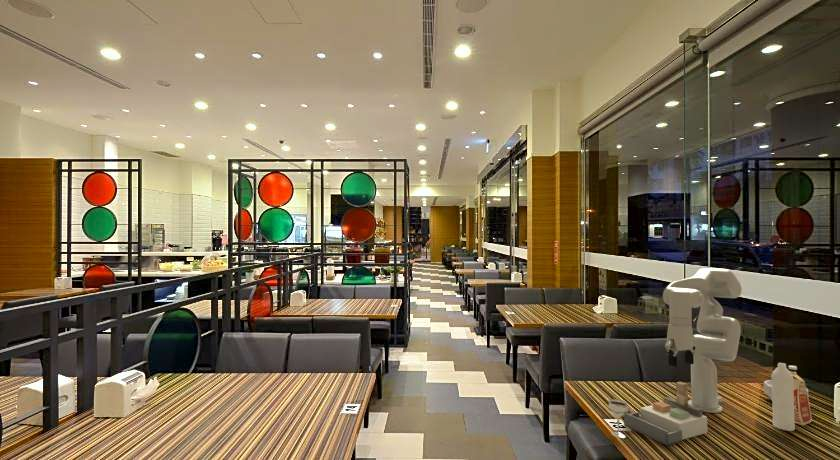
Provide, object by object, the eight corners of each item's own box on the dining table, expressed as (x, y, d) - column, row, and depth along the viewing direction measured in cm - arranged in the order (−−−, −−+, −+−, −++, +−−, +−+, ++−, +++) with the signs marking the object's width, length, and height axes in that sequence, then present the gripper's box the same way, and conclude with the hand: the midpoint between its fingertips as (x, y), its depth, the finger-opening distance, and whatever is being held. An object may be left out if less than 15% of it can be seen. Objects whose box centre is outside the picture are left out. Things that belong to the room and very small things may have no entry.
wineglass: (619, 440, 150) (619, 407, 151) (604, 432, 157) (604, 400, 157) (632, 436, 153) (632, 404, 154) (617, 429, 159) (617, 397, 160)
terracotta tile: (660, 406, 167) (660, 401, 167) (671, 410, 163) (671, 405, 163) (652, 408, 165) (652, 403, 165) (663, 412, 161) (663, 407, 161)
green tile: (677, 413, 160) (677, 407, 160) (688, 417, 156) (688, 412, 156) (669, 414, 159) (669, 409, 159) (680, 419, 154) (680, 414, 154)
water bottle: (768, 424, 164) (766, 361, 165) (783, 423, 165) (781, 360, 166) (790, 434, 156) (788, 367, 157) (805, 433, 156) (803, 367, 157)
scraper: (667, 403, 170) (667, 377, 171) (702, 416, 157) (702, 388, 158) (663, 404, 169) (662, 378, 170) (697, 417, 156) (697, 389, 157)
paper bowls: (806, 412, 176) (806, 393, 176) (761, 402, 188) (760, 384, 188) (811, 403, 186) (810, 385, 186) (767, 394, 198) (767, 377, 198)
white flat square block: (667, 416, 171) (667, 401, 172) (707, 432, 157) (707, 416, 157) (640, 422, 165) (640, 407, 165) (679, 440, 150) (679, 423, 151)
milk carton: (803, 425, 163) (801, 374, 164) (774, 416, 172) (773, 368, 172) (813, 421, 168) (811, 371, 168) (785, 412, 176) (783, 365, 176)
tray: (638, 421, 166) (638, 409, 166) (682, 441, 150) (681, 427, 150) (624, 425, 163) (623, 412, 163) (667, 445, 146) (667, 431, 147)
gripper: (685, 318, 171) (686, 359, 171) (656, 321, 165) (657, 364, 164) (704, 321, 165) (704, 364, 164) (675, 324, 158) (675, 369, 157)
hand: (681, 364), depth 164 cm, fingers open, 9 cm apart
